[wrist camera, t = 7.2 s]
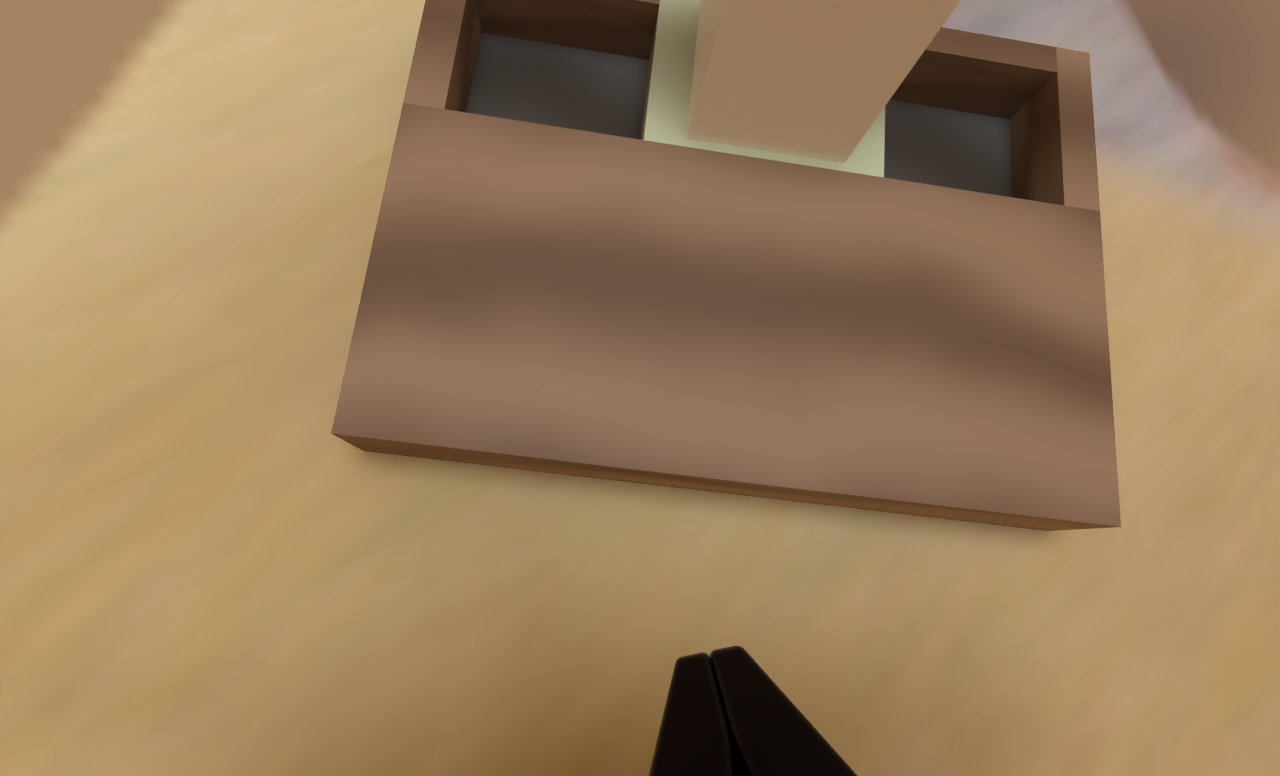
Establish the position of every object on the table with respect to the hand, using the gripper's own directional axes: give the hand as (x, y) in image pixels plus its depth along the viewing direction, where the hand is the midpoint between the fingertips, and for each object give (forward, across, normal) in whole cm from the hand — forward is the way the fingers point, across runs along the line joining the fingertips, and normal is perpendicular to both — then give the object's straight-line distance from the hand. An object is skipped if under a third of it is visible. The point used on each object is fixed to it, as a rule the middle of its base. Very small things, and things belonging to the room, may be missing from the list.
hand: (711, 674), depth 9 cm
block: (+17, -6, -6) cm, 19 cm away
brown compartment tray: (+17, -4, 0) cm, 17 cm away
